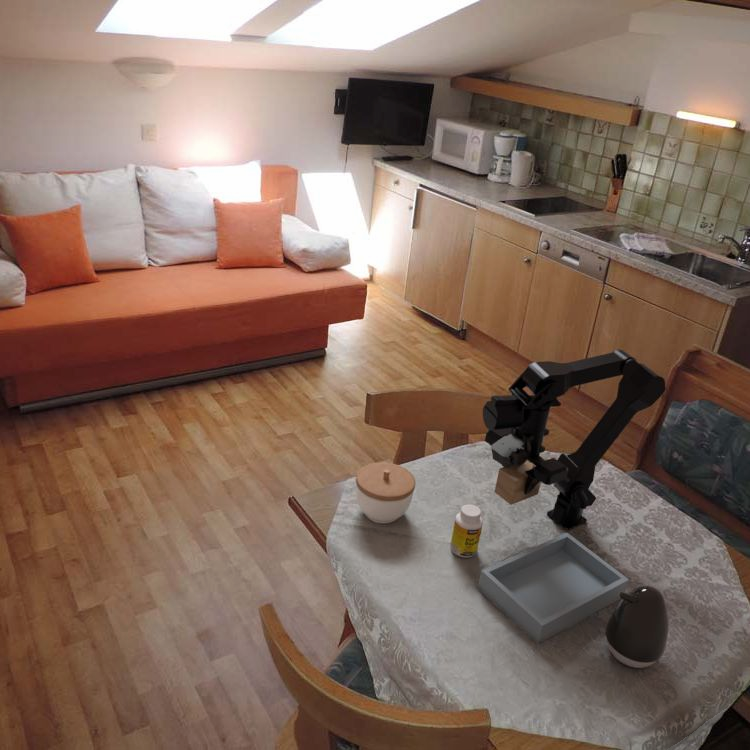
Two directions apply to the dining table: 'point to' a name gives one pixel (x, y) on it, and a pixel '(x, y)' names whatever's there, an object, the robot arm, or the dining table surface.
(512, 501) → the walnut box
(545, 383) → the robot arm
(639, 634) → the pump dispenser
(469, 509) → the supplement bottle
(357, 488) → the lidded bowl
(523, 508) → the dining table surface
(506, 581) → the tray
